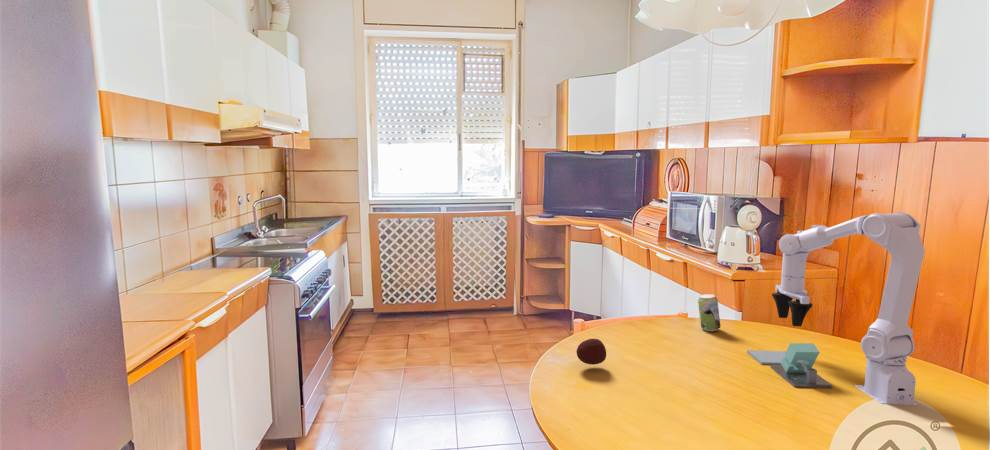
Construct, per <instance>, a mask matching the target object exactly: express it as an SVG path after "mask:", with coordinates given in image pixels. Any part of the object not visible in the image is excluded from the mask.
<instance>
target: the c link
mask: <svg viewBox="0 0 990 450" xmlns="http://www.w3.org/2000/svg"><path fill="white" fill-rule="evenodd" d="M785 351H786V353H785V356H786V358H783V360H782V362H781V365H782V366H783V368H784V369H785V371H786V373H807V372H805V371H804V370H803V369H801V368H800V367H799V366H797V365H796V364H795V363H796V361H797V360H801V361H803V362H804V363H806V364H807V365H808V366H810V367H811V368H813V366H814V364H815V362H816V360H817V359H818V356H819V354H820V353H821V352H820V350H819V349H818V347H817V346H816V345H815V344H814V343H812V342H811V343H807V342H806V343H797V342H795V343H792V342H790V343H789V344H788V346H787V349H786V350H785Z"/></svg>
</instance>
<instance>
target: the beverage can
mask: <svg viewBox="0 0 990 450" xmlns="http://www.w3.org/2000/svg"><path fill="white" fill-rule="evenodd" d="M697 303H698V304H697V305H698V313H699V321H700V327H701V329H702V330H704V331H706V332H715V331H718V330H719V329H721V319H720V311H719V310H720V309H719V302H718V298H717V297H716V295H715V294H711V293H704V294H700V295H699V298H698V299H697Z"/></svg>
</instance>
